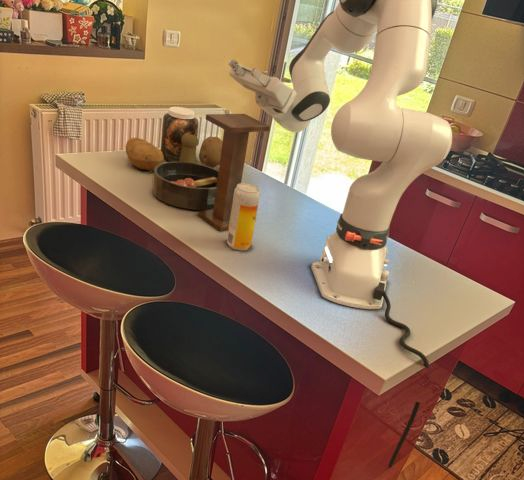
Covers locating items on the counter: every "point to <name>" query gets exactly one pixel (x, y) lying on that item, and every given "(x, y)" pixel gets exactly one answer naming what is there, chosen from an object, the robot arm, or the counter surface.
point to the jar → (176, 131)
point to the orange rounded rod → (195, 182)
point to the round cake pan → (181, 194)
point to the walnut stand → (230, 163)
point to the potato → (143, 154)
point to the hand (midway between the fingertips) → (242, 66)
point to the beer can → (243, 216)
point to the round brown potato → (211, 151)
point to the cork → (188, 148)
